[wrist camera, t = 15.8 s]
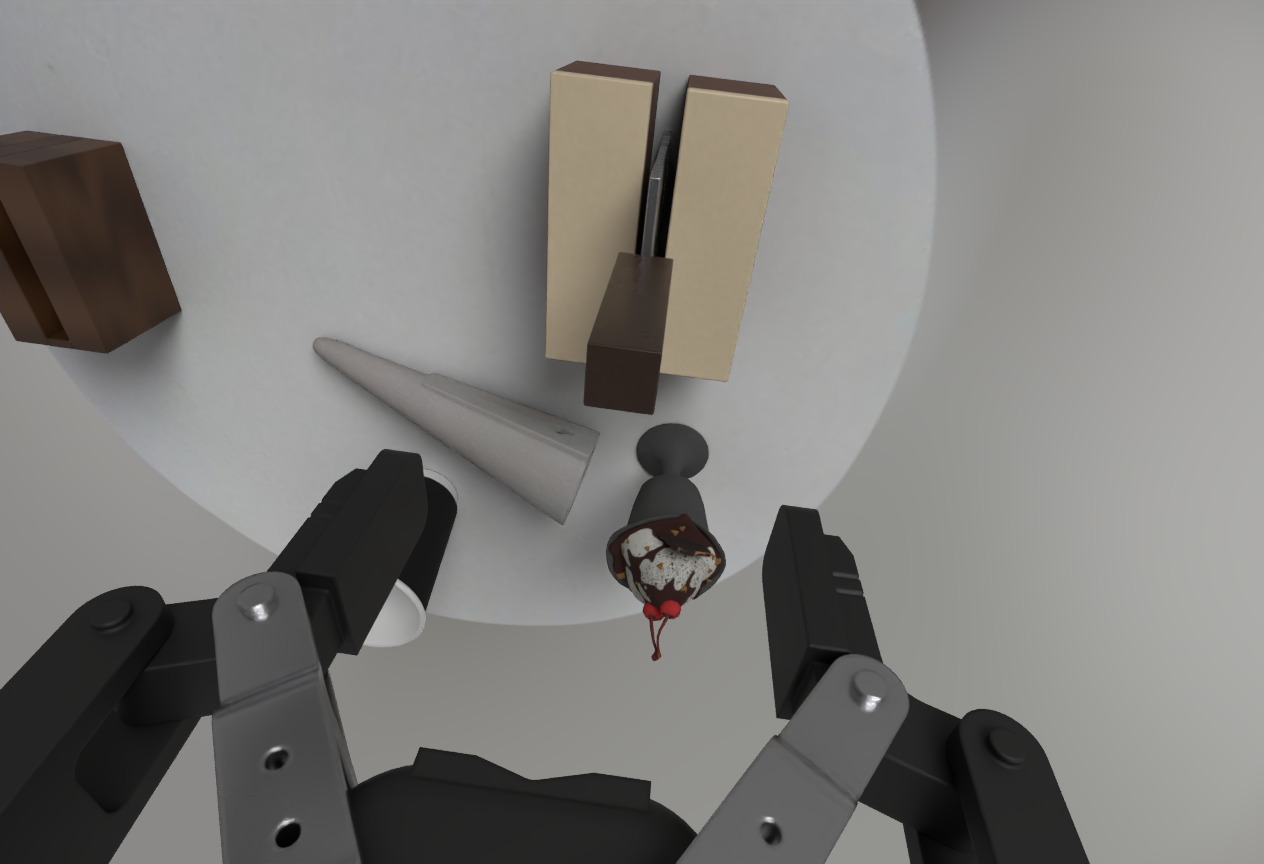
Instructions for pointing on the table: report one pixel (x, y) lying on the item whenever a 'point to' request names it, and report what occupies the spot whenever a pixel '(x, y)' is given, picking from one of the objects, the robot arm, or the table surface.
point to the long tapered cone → (480, 427)
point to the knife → (633, 315)
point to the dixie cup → (417, 570)
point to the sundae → (667, 529)
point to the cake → (617, 194)
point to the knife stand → (76, 245)
